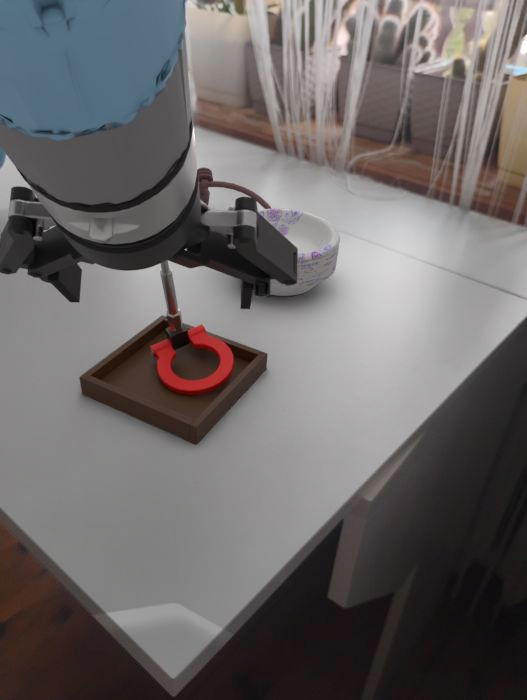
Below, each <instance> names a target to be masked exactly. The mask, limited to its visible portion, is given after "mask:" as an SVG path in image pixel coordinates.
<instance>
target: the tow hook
mask: <svg viewBox="0 0 527 700" xmlns="http://www.w3.org/2000/svg"><path fill="white" fill-rule="evenodd" d="M159 265H160V268H161V270H160V271H159V274H160V279H161V284H162V289H163V294H164V300H165V305H166V317H167V320H168V325H169V327H168V328H166V329H165V330H166V335H167V339H166V340H164V341H161V342H159V343H157V344H154V345H152V346H150V351H151V353H152V355H153V356H154V357H157V358H158V361H157V371H158V375H159V378H160V380H161V381H162V383H163V384H164V385H165V386H166V387H168V388H169V389H170V390H172V391H175V392H177V393H180V394H187V395H196V394H203V393H207V392H210V391H213V390H214V389H216V388H218V387H220V386H221V385H223V384H224V383H225V382H226V381H227V380H228V379H229V377H230V376H231V374H232V371H233V368H234V357H233V354H232V351H231V349H230V348H229V347H228V346H227V345H226V343H224V342H223V341H221V340H219V339H217V338H214V337H211V336H208V335H207V333H206V331H207V329H206V327H205V326H204V325H203V324H202V323H201V324H199V325H197V326H194V328H192V329H190V330H188V329H187V328H186V327H185V325H184V324H183V323H184V322H183V317H182V312H181V309H180V308H179V305H178V299H177V293H176V289H175V282H174V277H173V271H172V269H171V268H170V265H169V261H168V260H166V261H164V262H162V263H160V264H159ZM182 322H183V323H182ZM189 343H191V344H192V345H193V347H194V348H203V349H208V350H211V351H212V352H214V353H215V354H216V355H217V356H218V357H219V359H220V364H219V367H218V369H217V370H216V371H215V372H214V373H213V374H212V375H210V376H208V377H206V378H204V379H200V380H185V379H182V378H179V377H178V376H176V375H175V374H174V373H173V371H172V369H171V365H172V363H173V360H174V359H175V358H176V352H175V350H176V349H179V348H181V347H183V346H186V345H188V344H189Z"/></svg>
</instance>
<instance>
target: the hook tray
mask: <svg viewBox="0 0 527 700" xmlns="http://www.w3.org/2000/svg"><path fill="white" fill-rule="evenodd" d="M182 323H183V324H184V325H185V327H186V328H187V329H188V330H190V329H192V328H194V327H195V326H193V325H191V324H188V323H185V322H183V321H182ZM168 327H169V325H168V320H167V315H162V314H161V315H160V316H159V317H157V318H156V319H155V320H153V321H152V322H151V323H149V324H148V325H147V326H146V327H144V328H143V329H142V330H140V331H138V332H137V333H136V334H135V335H133V336H131V338H129V339H128V340H126V341H125V342H124V343H122V344H121V345H120V346H119V347H118V348H116V349H115V350H113V351H111V353H110V354H108V355H107V356H105V357H104V358H102V359H101V360H100V361H98V362H97V363H96V364H94V365H93V366H92V367H91V368H89V369H88V370H86V371H85V372H83V374H81V375H80V376H79V383H80V384H79V385H80V392H81V394H82V395H83V396H86V397H88V398H90V399H93V400H95V401H97V402H99V403H102V404H104V405H106V406H109V407H110V408H113V409H116V410H118V411H120V412H121V413H124V414H127V415H128V416H131V417H133V418H136V419H137V420H140V421H142V422H145V423H147V424H149V425H151V426H152V427H153V426H154V427H156V428H158V429H160V430H162V431H165V432H167V433H169V434H171V435H174V436H175V437H179V438H181V439H183V440H185V441H187V442H190V443H192V444H194V445H198V444H199V442H200V441H201V440H202V439H204V437H205V436H206V435H207V434H208V433H209V432H210V431H211V430H212V429H213V428H214V426H215V425H216V424H218V422H219V421H220V420H221V419H222V418H223V417H224V416H225V415H226V414H227V413H228V411H229V410H230V409H231V408H232V407H233V406H234V405H235V404H236V403H237V402H238V401H239V399H240V398H242V397H243V395H244V394H245V393H246V392H247V391H248V390H249V389H250V388H251V387H252V386H253V384H254V383H255V382H257V380H258V379H259V378H260V377H261V376H262V375H263V374H264V373H265V371H267V367H268V353H267V352H264V351H262V350H260V349H257V348H254V347H251V346H248V345H246V344H243V343H240V342H237V341H235V340H232V339H229V338H227V337H223V336H221V335H218V334H215V333H212V332H210V331H207V330H206V333H207V335H208V336H211V337H214V338H217V339H219V340H221V341H223V342H224V343H226V345H227V346H228V347H229V348H230V349H231V351H232V354H233V357H234V368H233V371H232V374H231V376H230V377H229V379H228V380H227V381H226V382H225V383H224V384H223V385H221V386H220V387H218V388H216V389H214V390H213V391H210V392H207V393H203V394H196V395H187V394H180V393H177V392H175V391H172V390H170V389H169V388H168V387H166V386H165V385H164V384H163V383H162V381H161V380H160V378H159V375H158V371H157V361H158V358H157V357H154V356H153V355H152V353H151V351H150V346H152V345H154V344H157V343H159V342H161V341H164V340H166V339H167V335H166V330H165V329H166V328H168ZM175 352H176V358H175V359H174V360H173V363H172V365H171V369H172V371H173V373H174V374H175V375H176V376H178V377H179V378H182V379H185V380H200V379H204V378H206V377H208V376H210V375H212V374H213V373H214V372H215V371H216V370H217V369H218V367H219V364H220V359H219V357H218V356H217V355H216V354H215V353H214V352H212V351H211V350H208V349H203V348H194V347H193V345H192V344H191V343H189V344H188V345H186V346H183V347H181V348H179V349H176V350H175Z"/></svg>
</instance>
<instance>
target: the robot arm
mask: <svg viewBox="0 0 527 700" xmlns="http://www.w3.org/2000/svg"><path fill="white" fill-rule="evenodd" d="M187 3H188V0H0V170H1V169H2V168H3V166H4V165H5V162H6V158H7V157H8V159H9V160H10V162H11V163H12V164H13V166H14V167H15V169H16V170H17V172H18V173H19V174H20V176H21V178H22V179H23V180H24V181H25V182H26V184H27V185H28V186H29V187H30V188H29V187H26V186H20V185H19V186H12V187H11V188H10V198H9V207H8V219H7V221H6V223H5V225H4V228H3V230H2V231H1V233H0V274H3V275H13V274H17V272H18V271H19V269H22V270H23V269H24V270H27V273H26V275H28V276H30V277H32V278H34V279H39V280H41V281H42V282H44V283H46V284H48V283H49V284H51V285H52V286H53V288H55V289H56V290H57V291H58V292H59V293H60V294H61V295H62V296H63V297H64V298H65V299H66V300H67V301H68V302H69V303H80V302H81V286H82V276H83V269H82V268H81V267H80V265H79V263H85V264H89V265H95V264H96V265H98V266H101V267H104V268H107V269H111V270H115V271H123V272H124V271H125V272H126V271H127V272H129V271H131V272H132V271H139V270H140V271H141V270H146V269H149V268H152V267H155V266H157V265H161V264H160V263H162V262H164V261H166V260H168V262H170V263H173V264H176V265H180V266H182V267H185V268H187V269H196V268H200V267H205V268H208V269H212V270H214V271H216V272H219V273H221V274H224V275H227V276H229V277H232V278H234V279H238V280H240V282H241V283H240V310H250V309H251V304H252V300H253V294H254V296H255V297H269V296H271V295H270V286H271V280H272V279H275V280H277V281H278V282H280V283H281V284H285V285H294V284H296V283H297V264H298V249H297V247H296V246H294V245H293V244H292V243H291V242H290V241H289V240H288V239H287V238H286V237H285V236H283V235H282V234H281V233H280V232H279V231H278V230H277V229H276V228H275V227H274V226H272V225H271V224H270V223H269V222H268V221H267V220H266V219H265V218H264V217H263V216H261V215H260V214H259V213H258V210H259V209H258V202H257V201H256V200H255V199H253V198H251V197H250V196H240V197H237V198H236V199H235V200H234V205H233V206H232V205H231V206H229V207H228V208H227V209H228V210H212V209H210V207H209V205H208V206H207V205H206V204H205V203H204V202H202V201H201V200H200V192H199V181H198V172H197V169H198V164H197V163H198V162H197V150H196V136H195V135H196V134H195V124H194V119H193V116H192V103H191V102H192V101H191V91H190V89H191V88H190V80H189V67H188V66H189V64H188V52H187V42H186V41H187V39H186V27H187V18H186V5H187Z"/></svg>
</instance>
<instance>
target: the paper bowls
mask: <svg viewBox="0 0 527 700" xmlns="http://www.w3.org/2000/svg"><path fill="white" fill-rule="evenodd" d="M271 208H272V207H271ZM258 213H259V214H260V215H261V216H263V217H264V218H265V219H266V220H267V221H268V222H269V223H270V224H271V225H272V226H274V227H275V228H276V229H277V230H278V231H279V232H280V233H281V234H282V235H283V236H285V237H286V238H287V239H288V240H289V241H290V242H291V243H292V244H293V245H294V246H296V247H297V249H298V264H297V283H296V284H294V285H285V284H281V283H280V282H278V281H277V280H275V279H272V280H271V286H270V295H269V296H277V297H292V296H298V295H301V294H304V293H307V292H308V291H310V290H312V289H313V288H314V287H315V286H316V285H317V284H320V283H321V282H324V281H327V280H328V279H329V278H330V277H331V276H332V275H333V274H334V273H335V271H336V267H337V263H338V262H337V261H338V256H339V250H340V243H341V237H340V233H339V231H338V230H337V228H336V227H335V226H334V225H333V224H332V223H331V222H330V221H328V220H327V219H325V218H323V217H321V216H318V215H316V214H314V213H310V212H307V211H303V210H298V209H291V208H276V207H275V208H272V209H264V208H262V209H258Z"/></svg>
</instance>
